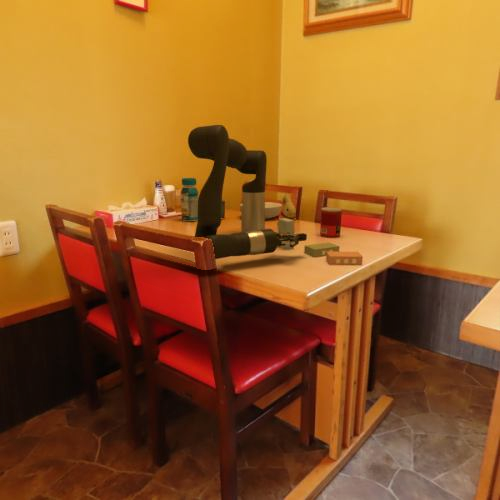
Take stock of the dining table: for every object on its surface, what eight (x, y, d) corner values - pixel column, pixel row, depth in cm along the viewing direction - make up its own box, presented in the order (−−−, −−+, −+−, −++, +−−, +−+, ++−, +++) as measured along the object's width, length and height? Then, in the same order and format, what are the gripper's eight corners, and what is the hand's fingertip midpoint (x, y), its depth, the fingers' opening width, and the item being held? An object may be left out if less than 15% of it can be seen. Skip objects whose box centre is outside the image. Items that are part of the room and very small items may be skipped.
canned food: (340, 238, 161) (341, 210, 158) (319, 237, 163) (320, 209, 160) (340, 234, 168) (341, 207, 166) (320, 233, 170) (321, 206, 167)
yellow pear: (289, 231, 173) (290, 196, 169) (274, 227, 182) (275, 193, 178) (302, 230, 176) (303, 195, 172) (287, 225, 185) (288, 192, 181)
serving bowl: (289, 217, 208) (289, 203, 206) (268, 223, 190) (268, 208, 189) (254, 213, 218) (254, 200, 216) (231, 219, 201) (231, 205, 199)
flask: (215, 221, 195) (215, 198, 192) (210, 220, 196) (210, 198, 194) (226, 218, 203) (225, 196, 200) (221, 218, 204) (220, 196, 202)
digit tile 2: (315, 249, 134) (339, 246, 138) (304, 245, 139) (328, 242, 143) (314, 258, 134) (339, 255, 139) (304, 254, 140) (328, 250, 144)
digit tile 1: (286, 249, 144) (287, 221, 141) (277, 246, 149) (278, 218, 146) (294, 248, 145) (294, 221, 142) (284, 245, 150) (285, 218, 148)
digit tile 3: (330, 256, 125) (362, 256, 125) (326, 251, 131) (357, 251, 131) (329, 266, 126) (362, 266, 126) (326, 260, 132) (357, 260, 132)
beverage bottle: (198, 222, 193) (196, 179, 188) (180, 222, 193) (178, 179, 188) (200, 218, 201) (199, 177, 196) (183, 218, 201) (181, 177, 196)
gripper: (269, 234, 120) (318, 229, 128) (249, 226, 131) (294, 222, 139) (269, 259, 122) (316, 252, 130) (248, 249, 133) (293, 243, 141)
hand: (305, 236), depth 134 cm, fingers closed
